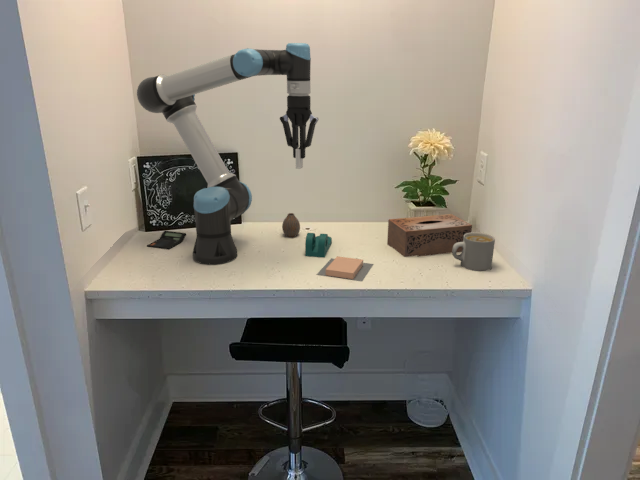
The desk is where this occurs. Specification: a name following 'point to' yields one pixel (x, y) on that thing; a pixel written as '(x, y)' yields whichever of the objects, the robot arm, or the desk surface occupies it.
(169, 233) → the calculator
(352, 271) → the tile
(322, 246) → the bracket
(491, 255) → the coffee mug
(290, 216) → the vase
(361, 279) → the mat
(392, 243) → the tissue box cover
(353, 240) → the desk surface
